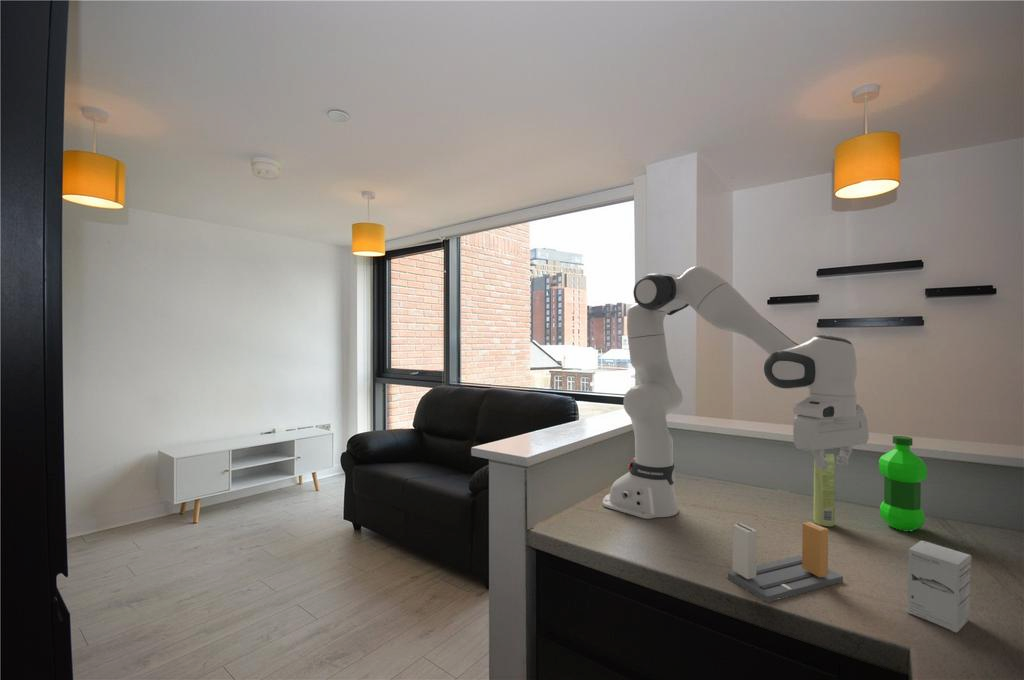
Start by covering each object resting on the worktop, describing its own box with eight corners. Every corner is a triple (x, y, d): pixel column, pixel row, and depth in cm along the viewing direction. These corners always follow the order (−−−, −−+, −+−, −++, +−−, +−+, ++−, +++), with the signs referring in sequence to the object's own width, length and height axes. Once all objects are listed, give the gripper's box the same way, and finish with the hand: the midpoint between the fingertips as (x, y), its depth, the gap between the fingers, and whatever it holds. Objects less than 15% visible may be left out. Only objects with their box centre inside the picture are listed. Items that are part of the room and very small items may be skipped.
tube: (812, 518, 133) (813, 451, 133) (833, 521, 130) (834, 453, 130) (813, 525, 128) (814, 455, 128) (835, 528, 126) (836, 458, 125)
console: (767, 602, 91) (767, 595, 91) (727, 577, 101) (727, 571, 101) (842, 581, 99) (842, 575, 99) (799, 560, 108) (799, 554, 108)
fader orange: (819, 577, 97) (820, 530, 97) (802, 568, 101) (802, 522, 101) (827, 575, 98) (828, 528, 98) (809, 566, 102) (810, 521, 102)
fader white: (747, 579, 97) (748, 531, 97) (732, 570, 100) (732, 524, 100) (756, 577, 98) (756, 529, 97) (741, 568, 101) (741, 522, 101)
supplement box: (905, 613, 88) (906, 548, 88) (920, 601, 92) (921, 538, 92) (957, 634, 82) (958, 564, 81) (971, 620, 86) (972, 553, 85)
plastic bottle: (897, 535, 121) (898, 441, 121) (868, 519, 132) (869, 433, 132) (937, 536, 121) (938, 442, 121) (905, 520, 131) (906, 433, 131)
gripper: (848, 401, 111) (848, 458, 112) (787, 406, 104) (787, 467, 104) (877, 405, 105) (876, 465, 106) (814, 411, 98) (814, 475, 99)
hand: (831, 466), depth 105 cm, fingers open, 5 cm apart
